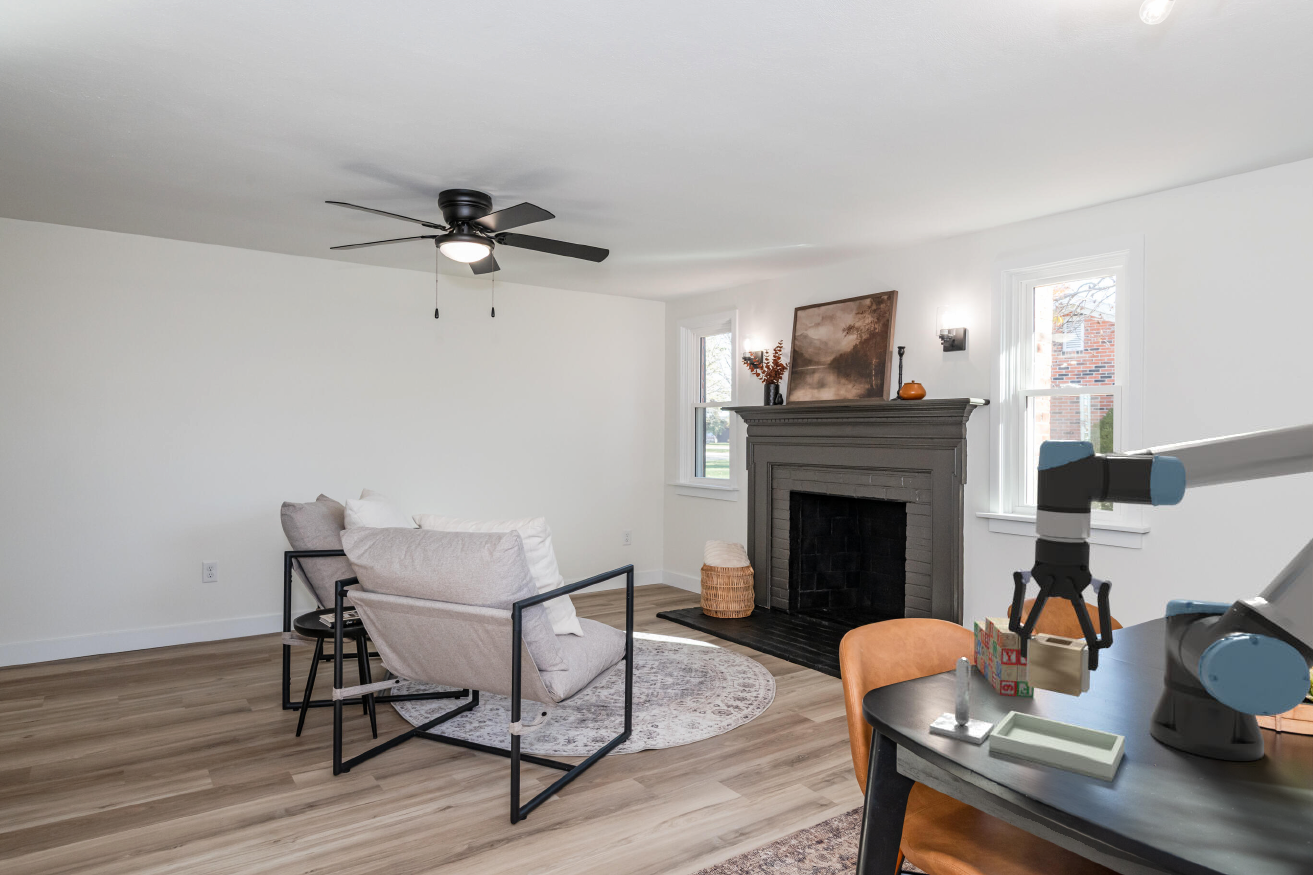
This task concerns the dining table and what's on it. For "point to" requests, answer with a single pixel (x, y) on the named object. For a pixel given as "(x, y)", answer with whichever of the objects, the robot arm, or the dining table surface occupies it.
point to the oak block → (1056, 664)
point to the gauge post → (962, 712)
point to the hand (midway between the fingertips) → (1057, 684)
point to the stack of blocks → (1001, 657)
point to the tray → (1059, 745)
